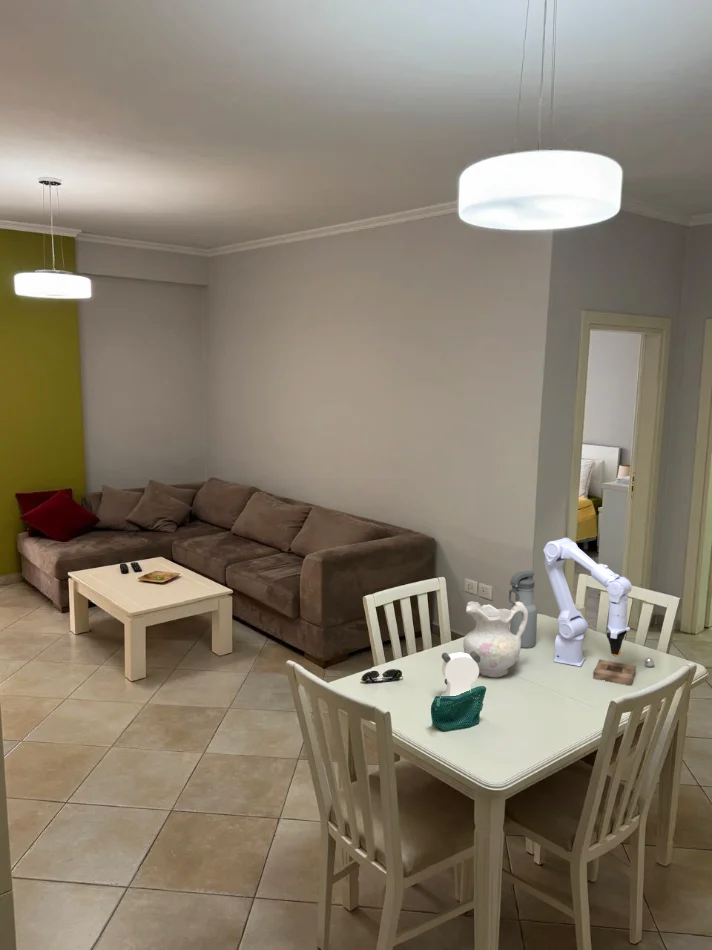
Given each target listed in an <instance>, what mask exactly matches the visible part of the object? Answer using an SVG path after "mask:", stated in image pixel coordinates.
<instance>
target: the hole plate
mask: <svg viewBox="0 0 712 950" xmlns="http://www.w3.org/2000/svg"><path fill="white" fill-rule="evenodd" d="M636 669H637V666H636V665H633V664H627V663H624V662H623V663H622V662H618V661H617V662H615V661H611V660H605V659H598V662H597V664H596V666H595V668H594V669H593V671H592V679H594V680H597V679H600V680H599V681H602V680H605V681H604V682H608V681H610V683H613V682H614V684H618V683H619V684H620V685H623V684H625V686H629V685H632V683H633V681H634V678H635V675H636V671H637V670H636Z"/></svg>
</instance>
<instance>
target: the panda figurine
mask: <svg viewBox="0 0 712 950" xmlns="http://www.w3.org/2000/svg"><path fill="white" fill-rule="evenodd" d="M441 658H442V659H443V662H442V666H441V672H442V675H443V676H444V678H445V679H444V684H445V685H446V691H445V692H443V693H442V694H441V695H440V697H441V696H442V695H446V696H456V695H459V694H461V693H464V692H466V691H469V690H470V691H471V690H472V684H473V683H474V682H475V681H476V680H477V679H478V677H479V675H480V674H479V667H478V665H477V663H479V662H480V660H481V659H480V656H479V655H478V654H477V653H476V652H475V651H472V652H471V653H470V655H469V654H467V653H465V652H453V653H450V654H448V653H447V652H443V653H442V654H441Z"/></svg>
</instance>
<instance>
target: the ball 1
mask: <svg viewBox="0 0 712 950" xmlns="http://www.w3.org/2000/svg"><path fill="white" fill-rule="evenodd" d="M610 653H611V652H610ZM621 654H622V651H621V649H620V650H619V653H618V655H615V654H612V653H611V655H612V656H613V657H620V655H621Z"/></svg>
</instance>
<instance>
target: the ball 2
mask: <svg viewBox="0 0 712 950" xmlns="http://www.w3.org/2000/svg"><path fill="white" fill-rule="evenodd" d="M643 663H644V665H645V666H646V667H648V668H650V667H653V666H654V665H655V660H654V659H653V658H652V657H649V656H648V657H646V658H645V659H644V660H643Z"/></svg>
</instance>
